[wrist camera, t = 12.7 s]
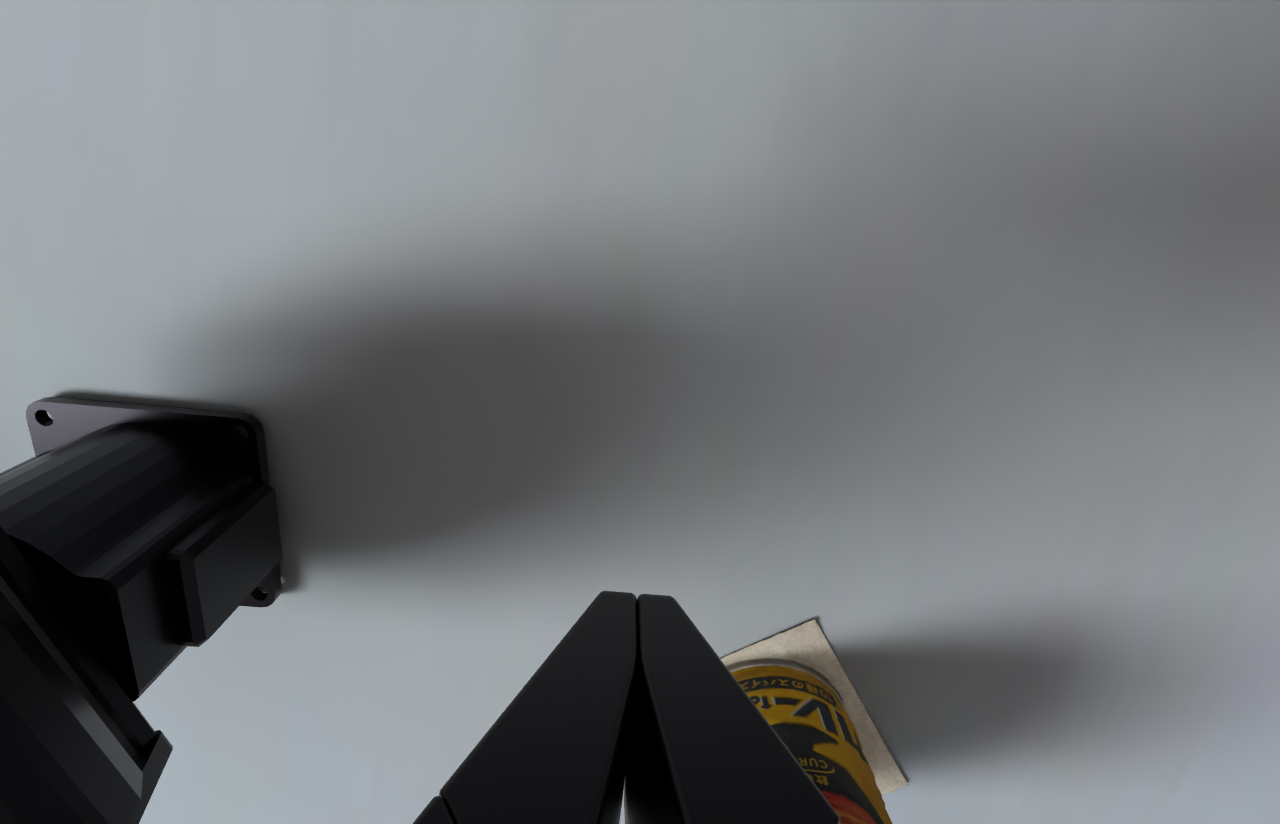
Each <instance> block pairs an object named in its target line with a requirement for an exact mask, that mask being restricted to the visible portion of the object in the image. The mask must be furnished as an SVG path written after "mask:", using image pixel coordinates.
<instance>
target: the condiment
mask: <svg viewBox="0 0 1280 824" xmlns="http://www.w3.org/2000/svg"><path fill="white" fill-rule="evenodd" d="M721 661H722V662H723V663H724V665H725V666H726V667H727V669H728V670H729V671H730V673H731V674H732V675H733V677H734V678H735V679H736V681H737V682H738V683H739V685H740V686H741V687H742V688H743V690H744V691H745V692H746V694H747V695H748V696H749V698H750V699H751V700H752V702H753V703H754V704H755V706H756V707H757V708H758V710H759V711H760V712H761V714H762V715H763V716H764V718H765V719H766V720H767V722H768V723H769V724H770V726H771V727H772V728H773V729H774V731H775V732H776V733H777V735H778V736H779V737H780V739H781V740H782V741H783V743H784V744H785V745H786V747H787V748H788V749H789V751H790V752H791V753H792V755H793V756H794V757H795V759H796V760H797V761H798V763H799V764H800V765H801V766H802V768H803V769H804V770H805V772H806V773H807V774H808V776H809V777H810V778H811V780H812V781H813V782H814V784H815V785H816V786H817V788H818V789H819V790H820V792H821V793H822V794H823V796H824V797H825V798H826V800H827V801H828V802H829V804H830V805H831V806H832V807H833V809H834V810H835V811H836V813H837V814H838V815H839V817H840V824H892V822H891V820H890V817H889V815H888V813H887V811H886V809H885V803H884V801H883V799H882V795H883V794H886V793H888V792H891V791H894V790H896V789H899V788H901V787H904V786H906V785H908V784H907V782H906V780H905V778H904V777H903V775H902V773H901V772H900V770H899V768H898V766H897V764H896V762H895V761H894V759H893V757H892V755H891V754H890V752H889V750H888V749H887V747H886V745H885V743H884V742H883V740H882V738H881V736H880V734H879V733H878V731H877V729H876V727H875V725H874V723H873V722H872V720H871V718H870V716H869V715H868V713H867V711H866V709H865V707H864V705H863V704H862V702H861V700H860V698H859V696H858V695H857V693H856V691H855V689H854V688H853V686H852V684H851V682H850V681H849V679H848V677H847V675H846V673H845V672H844V670H843V668H842V666H841V665H840V663H839V661H838V659H837V657H836V656H835V654H834V652H833V650H832V649H831V647H830V645H829V643H828V641H827V640H826V638H825V636H824V634H823V633H822V631H821V629H820V627H819V626H818V624H817V623H816V621H815V619H814V620H812V621H809V622H806V623H803V624H802V625H800V626H797V627H795V628H793V629H791V630H788V631H786V632H784V633H780V634H777V635H775V636H773V637H772V638H770V639H767V640H763V641H760V642H758V643H756V644H754V645H751V646H748V647H746V648H744V649H742V650H740V651H738V652H735V653H732V654H730V655H727V656H725V657H723V658H721Z"/></svg>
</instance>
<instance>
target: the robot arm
mask: <svg viewBox="0 0 1280 824" xmlns="http://www.w3.org/2000/svg"><path fill="white" fill-rule="evenodd" d="M47 411H48V412H49V413H50V414H51V415H52V417H53V420H52V419H51V418H50V417H49V416H48V414H47ZM26 418H27V422H28V426H29V430H30V434H31V438H32V442H33V446H34V450H35V454H36V457H33V458H31V459H29V460H27V461H25V462H23V463H21V464H19V465H17V466H15V467H13V468H11V469H9V470H6V471H4V472H2V473H0V824H139V822H140V819H141V817H142V815H143V813H144V811H145V809H146V806H147V804H148V802H149V800H150V798H151V795H152V793H153V791H154V789H155V787H156V784H157V782H158V780H159V778H160V776H161V773H162V771H163V769H164V767H165V765H166V762H167V760H168V758H169V756H170V754H171V751H172V749H173V746H172V745H171V744H170V742H169V741H168V740H167V738H166V737H165V736H164V734H163V733H162V732H161V731H160V730H158V731H154V729H153V728H152V727H151V725H150V724H149V723H148V721H147V720H146V719H145V717H144V716H143V715H142V713H141V712H140V711H139V709H138V708H137V707H136V705H135V704H134V703H133V701H135V700H136V699H137V698H139V697H140V696H141V694H142V693H143V692H144V691H145V690H146V689H147V688H148V687H149V686H150V685H151V684H152V683H153V682H154V681H155V680H156V679H157V678H158V676H159V675H160V674H161V673H162V672H163V671H164V670H165V669H166V668H167V667H168V666H169V665H170V664H171V663H172V662H173V661H174V659H175V658H176V657H177V656H178V655H179V654H180V653H181V652H182V651H183V650H184V649H185V648H186V647H187V646H193V647H199V646H200V645H202V644H203V643H204V642H205V641H207V640H208V639H209V638H210V637H211V636H212V635H213V634H214V633H215V631H216V630H217V629H218V628H219V627H220V626H221V625H222V624H223V623H224V622H225V620H226V619H227V618H228V617H229V616H230V615H231V614H232V613H233V612H234V611H235V610H236V608H237V607H238V606H251V607H267V606H269V605H271V604H272V603H273V602H274V601H275V600H276V599H277V597H278V596H279V595H280V593H281V589H282V586H281V578H280V569H279V561H280V560H281V559H282V549H281V540H280V531H279V522H278V513H277V504H276V495H275V489H274V488H273V486H272V485H271V483H270V481H269V472H268V463H267V455H266V446H265V437H264V430H263V426H262V424H261V423H260V421H259V420H258V419H257V418H256V417H254V416H252V415H250V414H246V413H238V412H226V411H214V410H202V409H190V408H178V407H166V406H154V405H142V404H130V403H118V402H106V401H94V400H82V399H70V398H58V397H47V398H43V399H41V400H38V401H36V402H33V403H32V404H30V405H29V406H28V408H27V410H26ZM238 426H240V427H243V428H244V429H245V430H246V431H247V434H248V437H246V436H243V435H242V434H241V433H239V430H238ZM258 587H260V588H263V589H264V590H265V591H266V592H267V593H264V592H262V591H261V590H259V588H258ZM623 789H624V810H625V824H840V817H839V815H838V814H837V813H836V811H835V810H834V809H833V807H832V806H831V805H830V804H829V802H828V801H827V800H826V798H825V797H824V796H823V794H822V793H821V792H820V790H819V789H818V788H817V786H816V785H815V784H814V782H813V781H812V780H811V778H810V777H809V776H808V774H807V773H806V772H805V770H804V769H803V768H802V766H801V765H800V764H799V763H798V761H797V760H796V759H795V757H794V756H793V755H792V753H791V752H790V751H789V749H788V748H787V747H786V745H785V744H784V743H783V741H782V740H781V739H780V737H779V736H778V735H777V733H776V732H775V731H774V729H773V728H772V727H771V726H770V724H769V723H768V722H767V720H766V719H765V718H764V716H763V715H762V714H761V712H760V711H759V710H758V708H757V707H756V706H755V704H754V703H753V702H752V700H751V699H750V698H749V696H748V695H747V694H746V692H745V691H744V690H743V688H742V687H741V686H740V685H739V683H738V682H737V681H736V679H735V678H734V677H733V675H732V674H731V673H730V671H729V670H728V669H727V667H726V666H725V665H724V663H723V662H722V661H721V659H720V658H719V657H718V655H717V654H716V653H715V651H714V650H713V649H712V648H711V646H710V645H709V644H708V642H707V641H706V640H705V638H704V637H703V636H702V634H701V633H700V632H699V630H698V629H697V628H696V626H695V625H694V624H693V622H692V621H691V620H690V618H689V617H688V616H687V614H686V613H685V612H684V610H683V609H682V608H681V607H680V605H679V604H678V603H677V601H676V600H675V599H674V598H673V597H671V596H664V595H651V594H641V595H639V597H638V598H637V599H636V596H635V595H634V594H632V593H625V592H612V591H603V592H601V593H600V594H599V595H598V596H597V597H596V598H595V600H594V601H593V602H592V603H591V604H590V606H589V607H588V608H587V609H586V611H585V612H584V613H583V614H582V616H581V617H580V618H579V619H578V621H577V622H576V623H575V624H574V625H573V627H572V628H571V629H570V630H569V632H568V633H567V634H566V635H565V637H564V638H563V639H562V640H561V642H560V643H559V644H558V645H557V647H556V648H555V649H554V650H553V651H552V653H551V654H550V655H549V656H548V658H547V659H546V660H545V661H544V663H543V664H542V665H541V666H540V668H539V669H538V670H537V671H536V672H535V674H534V675H533V676H532V677H531V679H530V680H529V681H528V682H527V684H526V685H525V686H524V687H523V689H522V690H521V691H520V692H519V693H518V695H517V696H516V697H515V698H514V700H513V701H512V702H511V703H510V705H509V706H508V707H507V708H506V710H505V711H504V712H503V713H502V714H501V716H500V717H499V718H498V719H497V721H496V722H495V723H494V724H493V726H492V727H491V728H490V729H489V731H488V732H487V733H486V734H485V735H484V737H483V738H482V739H481V740H480V742H479V743H478V744H477V745H476V747H475V748H474V749H473V750H472V752H471V753H470V754H469V755H468V756H467V758H466V759H465V760H464V761H463V763H462V764H461V765H460V766H459V768H458V769H457V770H456V771H455V773H454V774H453V775H452V776H451V777H450V779H449V780H448V781H447V782H446V784H445V785H444V786H443V787H442V789H441V790H440V793H439V796H436V797H434V798H433V799H432V800H431V802H430V803H429V804H428V805H427V807H426V808H425V809H424V810H423V811H422V813H421V814H420V815H419V816H418V818H417V819H416V820H415V821H414V823H413V824H619V820H620V813H621V806H622V798H623Z"/></svg>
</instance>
